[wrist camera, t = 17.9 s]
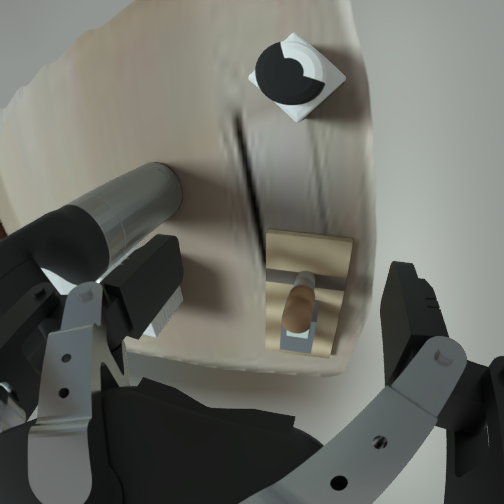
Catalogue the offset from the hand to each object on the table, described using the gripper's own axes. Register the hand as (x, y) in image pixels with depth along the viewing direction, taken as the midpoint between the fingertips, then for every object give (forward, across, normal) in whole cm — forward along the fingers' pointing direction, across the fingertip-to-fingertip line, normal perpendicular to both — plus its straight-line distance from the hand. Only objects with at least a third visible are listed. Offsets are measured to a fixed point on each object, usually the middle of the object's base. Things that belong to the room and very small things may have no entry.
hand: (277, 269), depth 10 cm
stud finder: (+27, +1, +26) cm, 38 cm away
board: (+28, +1, +24) cm, 37 cm away
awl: (+27, +1, +19) cm, 33 cm away
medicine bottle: (+28, +2, -8) cm, 30 cm away
